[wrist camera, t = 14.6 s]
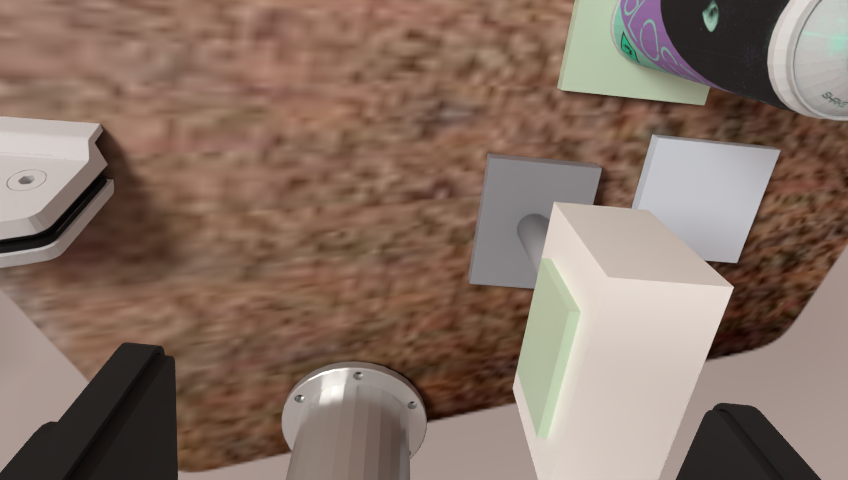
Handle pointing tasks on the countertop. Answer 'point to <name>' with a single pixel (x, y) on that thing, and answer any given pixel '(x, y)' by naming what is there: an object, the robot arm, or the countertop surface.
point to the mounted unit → (595, 318)
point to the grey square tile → (705, 191)
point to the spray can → (745, 48)
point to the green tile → (614, 63)
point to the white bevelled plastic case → (47, 186)
